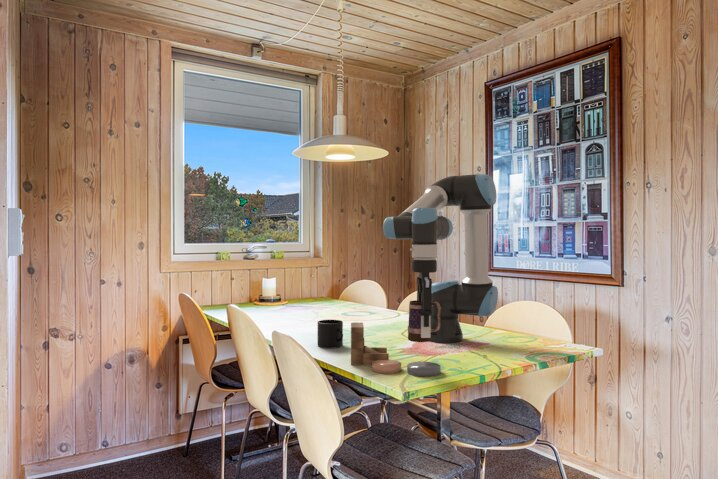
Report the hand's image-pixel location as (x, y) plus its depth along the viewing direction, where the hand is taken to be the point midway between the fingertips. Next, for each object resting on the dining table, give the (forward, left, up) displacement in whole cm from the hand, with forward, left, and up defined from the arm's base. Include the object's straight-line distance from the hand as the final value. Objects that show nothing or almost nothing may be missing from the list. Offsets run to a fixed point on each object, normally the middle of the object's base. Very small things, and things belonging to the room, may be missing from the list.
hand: (423, 334), depth 151 cm
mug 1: (+29, -36, -12) cm, 48 cm away
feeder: (+16, -13, -11) cm, 23 cm away
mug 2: (0, +1, -2) cm, 2 cm away
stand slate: (0, 0, -11) cm, 11 cm away
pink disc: (+11, -3, -11) cm, 16 cm away
